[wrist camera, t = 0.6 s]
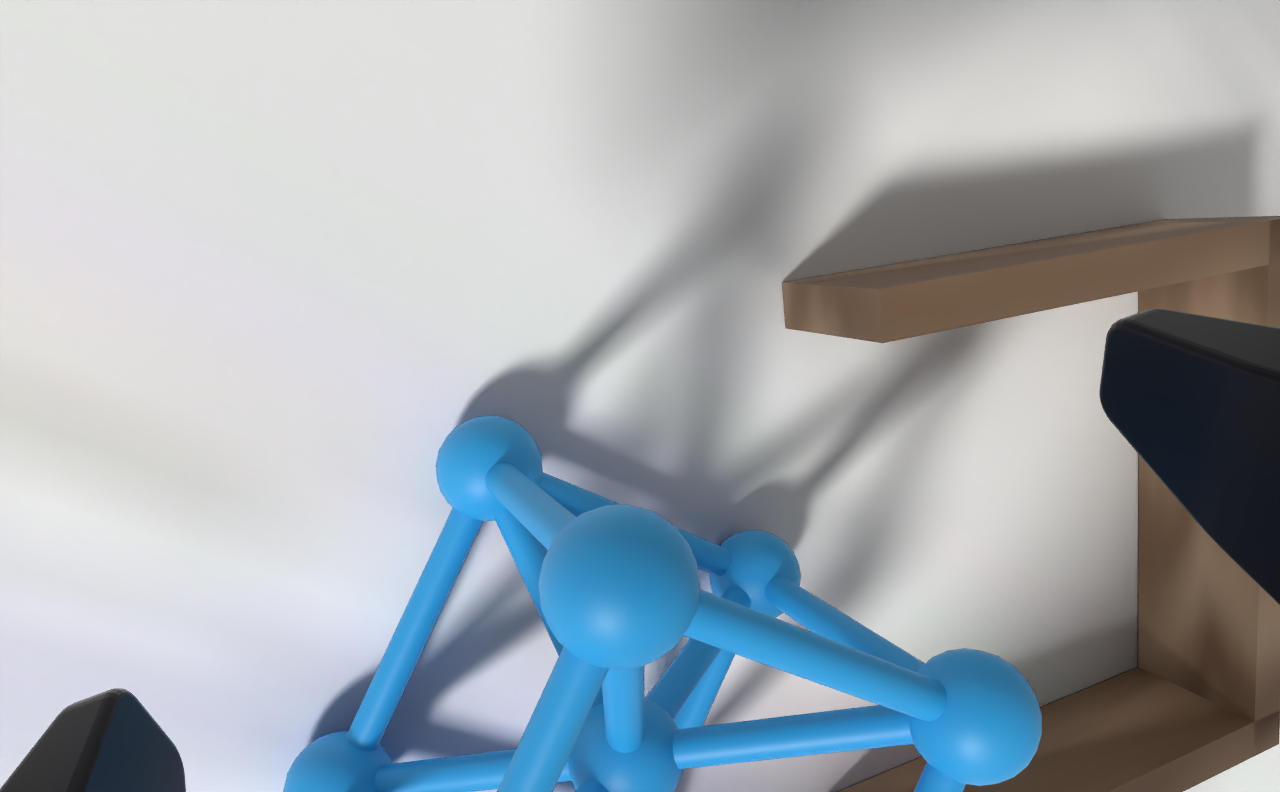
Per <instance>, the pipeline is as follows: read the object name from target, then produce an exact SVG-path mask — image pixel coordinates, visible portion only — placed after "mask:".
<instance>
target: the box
mask: <svg viewBox="0 0 1280 792" xmlns="http://www.w3.org/2000/svg"><path fill="white" fill-rule="evenodd" d="M782 289H783V301H784V313H785V326H786V328H788V329H794V330H801V331H807V332H814V333H820V334H827V335H834V336H840V337H847V338H853V339H860V340H866V341H873V342H879V343H885V342H890V341H895V340H900V339H905V338H910V337H915V336H920V335H925V334H930V333H935V332H940V331H945V330H949V329H954V328H959V327H964V326H969V325H974V324H979V323H984V322H989V321H994V320H999V319H1004V318H1009V317H1014V316H1018V315H1023V314H1028V313H1033V312H1038V311H1043V310H1048V309H1053V308H1058V307H1063V306H1068V305H1073V304H1078V303H1083V302H1087V301H1092V300H1097V299H1102V298H1107V297H1112V296H1117V295H1122V294H1127V293H1132V292H1137V291H1139V313H1140V312H1142V311H1145V310H1149V309H1157V308H1158V309H1166V310H1172V311H1178V312H1184V313H1190V314H1196V315H1202V316H1208V317H1215V318H1221V319H1227V320H1233V321H1239V322H1245V323H1251V324H1257V325H1263V326H1269V327H1275V328H1280V216H1262V217H1228V218H1193V219H1165V220H1158V221H1152V222H1146V223H1140V224H1134V225H1128V226H1122V227H1116V228H1110V229H1104V230H1098V231H1092V232H1086V233H1080V234H1073V235H1067V236H1061V237H1055V238H1049V239H1043V240H1037V241H1031V242H1025V243H1019V244H1013V245H1007V246H1001V247H995V248H989V249H982V250H976V251H970V252H964V253H958V254H952V255H946V256H940V257H934V258H928V259H922V260H916V261H910V262H904V263H898V264H891V265H885V266H879V267H873V268H867V269H861V270H855V271H849V272H843V273H837V274H831V275H825V276H819V277H813V278H807V279H800V280H794V281H788V282H782ZM1040 711H1041V714H1042V735H1041V738H1040V742H1039V745H1038V749H1037V752H1036V753H1035V755H1034V756H1033V758H1032V760H1031V761H1030V763H1029V765H1028V766H1027V767H1026V768H1025V769H1023V770H1022V771H1021V772H1020V773H1018V774H1017V775H1016V776H1015V777H1013V778H1011V779H1008V780H1006V781H1003V782H1000V783H998V784H991V785H983V786H976V785H970V784H966V785H965V788H964V790H963V792H1183V791H1185V790H1187V789H1189V788H1191V787H1193V786H1195V785H1197V784H1199V783H1201V782H1203V781H1205V780H1207V779H1209V778H1211V777H1213V776H1215V775H1217V774H1219V773H1221V772H1223V771H1225V770H1227V769H1229V768H1231V767H1233V766H1235V765H1237V764H1239V763H1241V762H1243V761H1245V760H1247V759H1249V758H1251V757H1253V756H1256V755H1258V754H1260V753H1262V752H1264V751H1266V750H1268V749H1270V748H1272V747H1274V746H1276V745H1278V744H1279V729H1280V605H1279V604H1278V603H1277V602H1276V601H1275V600H1274V599H1273V598H1272V597H1271V596H1270V595H1269V594H1268V593H1267V592H1266V591H1265V590H1264V589H1263V588H1262V587H1261V586H1260V585H1258V584H1257V583H1256V582H1255V581H1254V580H1253V579H1252V578H1251V577H1250V576H1249V575H1248V574H1247V573H1246V572H1245V571H1244V570H1243V569H1242V568H1241V567H1240V566H1239V565H1238V564H1237V563H1236V562H1235V561H1234V560H1233V559H1232V558H1231V557H1230V556H1229V555H1228V554H1227V553H1226V552H1225V551H1224V550H1223V549H1222V548H1221V547H1220V546H1219V545H1218V544H1217V543H1216V542H1215V541H1214V540H1213V539H1212V538H1211V537H1210V536H1209V535H1208V534H1207V533H1206V532H1205V531H1204V529H1203V528H1202V527H1201V526H1200V525H1199V524H1198V523H1197V522H1196V521H1195V519H1194V518H1193V517H1192V516H1191V515H1190V514H1189V512H1188V511H1187V510H1186V509H1185V508H1184V507H1183V505H1182V504H1181V503H1180V502H1179V501H1178V500H1177V498H1176V497H1175V496H1174V495H1173V494H1172V492H1171V491H1170V490H1169V489H1168V488H1167V487H1166V485H1165V484H1164V483H1163V482H1162V481H1161V480H1160V478H1159V477H1158V476H1157V475H1156V474H1155V473H1154V471H1153V470H1152V469H1151V468H1150V467H1149V465H1148V464H1147V463H1146V462H1145V461H1144V460H1143V458H1142V457H1141V456H1140V455H1139V530H1138V667H1137V668H1135V669H1132V670H1130V671H1127V672H1125V673H1123V674H1120V675H1118V676H1115V677H1113V678H1111V679H1108V680H1106V681H1103V682H1101V683H1098V684H1096V685H1094V686H1091V687H1089V688H1086V689H1084V690H1082V691H1079V692H1077V693H1074V694H1072V695H1070V696H1067V697H1065V698H1062V699H1060V700H1058V701H1055V702H1053V703H1050V704H1048V705H1046V706H1043V707H1041V708H1040ZM926 763H927V761H926V760H925V759H924V758H923V757H920V758H918V759H915V760H913V761H911V762H908V763H906V764H903V765H901V766H899V767H896V768H894V769H891V770H889V771H887V772H884V773H882V774H879V775H877V776H874V777H872V778H870V779H867V780H865V781H862V782H860V783H858V784H855V785H853V786H850V787H848V788H846V789H843V790H841V791H838V792H914V790H915V788H916V785H917V783H918V781H919V779H920V776H921V774H922V772H923V770H924V767H925V765H926Z"/></svg>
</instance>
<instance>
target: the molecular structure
mask: <svg viewBox="0 0 1280 792" xmlns="http://www.w3.org/2000/svg"><path fill="white" fill-rule="evenodd" d="M542 471H543V470H542V459H541V453H540V451H539V449H538V446H537V444H536V442H535V440H534V439H533V437H532V436H531V435H530V433H528V432H527V431H526V430H525V429H524V428H523V427H521V426H520V425H518V424H517V423H515V422H514V421H513V420H510V419H506V418H502V417H499V416H480V417H477V418H473V419H470V420H468V421H466V422H464V423H462V424H461V425H459V426H457V427H456V428H455V429H454V430H453V431H452V432H451V433H450V434H449V435H448V436H447V438H446V439H445V441H444V443H443V444H442V446H441V448H440V450H439V452H438V457H437V462H436V474H437V481H438V484H439V488H440V491H441V493H442V494H443V496H444V497H445V499H446V501H447V502H448V503H449V504H450V505H451V506H452V507H453V509H452V511H451V513H450V515H449V517H448V519H447V521H446V523H445V526H444V528H443V530H442V532H441V534H440V536H439V538H438V541H437V543H436V545H435V547H434V549H433V551H432V553H431V556H430V558H429V560H428V562H427V564H426V566H425V568H424V571H423V573H422V575H421V577H420V579H419V581H418V583H417V585H416V588H415V590H414V592H413V594H412V596H411V598H410V600H409V603H408V605H407V607H406V609H405V611H404V613H403V615H402V618H401V620H400V622H399V624H398V626H397V628H396V630H395V632H394V635H393V637H392V639H391V641H390V643H389V645H388V647H387V650H386V652H385V654H384V656H383V658H382V660H381V662H380V665H379V667H378V669H377V671H376V673H375V675H374V677H373V680H372V682H371V684H370V686H369V688H368V690H367V692H366V694H365V697H364V699H363V701H362V703H361V705H360V707H359V709H358V712H357V714H356V716H355V718H354V720H353V722H352V724H351V727H350V729H349V731H342V732H334V733H330V734H328V735H325V736H323V737H320V738H318V739H316V740H315V741H314V742H312V743H311V744H310V745H308V746H307V747H306V748H305V749H304V750H303V751H302V752H301V753H300V754H299V755H298V757H297V758H296V759H295V761H294V762H293V764H292V766H291V768H290V770H289V771H288V773H287V777H286V782H285V786H284V790H283V792H474V791H483V790H492V789H498V790H497V792H553V790H554V788H555V786H556V783H557V782H566V781H572V783H573V785H574V787H575V789H576V791H575V792H674V791H675V789H676V787H677V785H678V782H679V780H680V777H681V775H682V771H683V769H686V768H695V767H704V766H713V765H723V764H732V763H741V762H750V761H760V760H769V759H778V758H787V757H797V756H806V755H815V754H824V753H834V752H843V751H852V750H861V749H871V748H880V747H889V746H898V745H908V744H914V746H915V748H916V749H917V751H918V752H919V753H920V754H921V755H922V757H923V758H924V759H925V760H926V761H927V763H926V765H925V767H924V770H923V772H922V774H921V776H920V779H919V781H918V783H917V785H916V788H915V790H914V792H963V790H964V788H965V785H966V784H970V785H976V786H983V785H991V784H998V783H1000V782H1003V781H1006V780H1008V779H1011V778H1013V777H1015V776H1016V775H1017V774H1018V773H1020V772H1021V771H1022V770H1023V769H1025V768H1026V767H1027V766H1028V765H1029V763H1030V761H1031V760H1032V758H1033V756H1034V755H1035V753H1036V752H1037V749H1038V745H1039V742H1040V738H1041V735H1042V714H1041V711H1040V707H1039V703H1038V700H1037V697H1036V695H1035V694H1034V692H1033V690H1032V688H1031V687H1030V685H1029V683H1028V681H1027V680H1026V679H1025V678H1024V677H1023V676H1022V675H1021V673H1020V672H1019V671H1018V670H1017V669H1016V668H1015V667H1014V666H1012V665H1011V664H1009V663H1008V662H1006V661H1005V660H1003V659H1002V658H1000V657H999V656H996V655H993V654H990V653H987V652H984V651H979V650H972V649H965V648H964V649H957V650H950V651H946V652H944V653H941V654H939V655H937V656H935V657H932V658H931V659H930V660H929V661H928V662H927V663H926V664H925V663H924V662H922V661H920V660H919V659H917V658H915V657H914V656H912V655H911V654H909V653H907V652H906V651H904V650H902V649H901V648H899V647H898V646H896V645H894V644H893V643H891V642H889V641H888V640H886V639H884V638H883V637H881V636H880V635H878V634H876V633H875V632H873V631H871V630H870V629H868V628H866V627H865V626H863V625H862V624H860V623H858V622H857V621H855V620H853V619H852V618H850V617H849V616H847V615H845V614H844V613H842V612H840V611H839V610H837V609H835V608H834V607H832V606H831V605H829V604H827V603H826V602H824V601H822V600H821V599H819V598H817V597H816V596H814V595H813V594H811V593H809V592H808V591H806V590H804V589H803V588H801V587H800V579H801V573H800V568H799V564H798V561H797V558H796V556H795V554H794V552H793V551H792V550H791V548H790V547H789V546H788V545H787V544H786V542H785V541H783V540H782V539H780V538H779V537H777V536H776V535H774V534H771V533H767V532H764V531H760V530H751V531H743V532H740V533H737V534H735V535H732V536H731V537H729V538H728V539H727V540H725V541H724V542H723V543H722V544H721V546H719V545H717V544H714V543H712V542H709V541H707V540H705V539H702V538H700V537H697V536H695V535H693V534H690V533H688V532H685V531H683V530H680V529H678V528H676V527H674V526H673V525H672V524H671V523H669V522H668V521H666V520H665V519H663V518H662V517H660V516H659V515H657V514H656V513H654V512H652V511H649V510H645V509H642V508H638V507H635V506H631V505H620V504H618V503H615V502H613V501H611V500H608V499H606V498H603V497H601V496H599V495H596V494H594V493H591V492H589V491H587V490H584V489H582V488H579V487H577V486H574V485H572V484H570V483H567V482H565V481H562V480H560V479H558V478H555V477H553V476H550V475H548V474H546V473H543V472H542ZM483 521H496V522H497V525H498V527H499V529H500V531H501V533H502V535H503V537H504V540H505V542H506V544H507V546H508V548H509V550H510V552H511V555H512V557H513V559H514V561H515V563H516V565H517V567H518V569H519V572H520V574H521V576H522V578H523V580H524V582H525V584H526V587H527V589H528V591H529V593H530V595H531V597H532V599H533V602H534V604H535V606H536V608H537V610H538V612H539V614H540V617H541V619H542V621H543V623H544V625H545V627H546V629H547V632H548V634H549V636H550V638H551V640H552V642H553V644H554V647H555V649H556V651H557V653H558V655H559V658H558V660H557V662H556V664H555V667H554V669H553V671H552V673H551V675H550V677H549V680H548V682H547V684H546V686H545V688H544V690H543V693H542V695H541V697H540V699H539V701H538V703H537V706H536V708H535V710H534V712H533V714H532V716H531V719H530V721H529V723H528V725H527V727H526V729H525V732H524V734H523V736H522V738H521V740H520V743H519V745H518V747H517V749H510V750H502V751H494V752H486V753H477V754H469V755H461V756H452V757H444V758H436V759H427V760H419V761H411V762H402V763H394V764H392V761H391V759H390V757H389V756H388V754H387V753H386V751H385V749H384V748H383V746H381V745H380V744H379V743H380V741H381V739H382V737H383V735H384V733H385V731H386V728H387V726H388V724H389V722H390V720H391V718H392V716H393V713H394V711H395V709H396V707H397V705H398V703H399V701H400V698H401V696H402V694H403V692H404V690H405V688H406V686H407V683H408V681H409V679H410V677H411V675H412V673H413V671H414V668H415V666H416V664H417V662H418V660H419V658H420V656H421V653H422V651H423V649H424V647H425V645H426V643H427V641H428V638H429V636H430V634H431V632H432V630H433V628H434V626H435V623H436V621H437V619H438V617H439V615H440V613H441V610H442V608H443V606H444V604H445V602H446V600H447V598H448V595H449V593H450V591H451V589H452V587H453V585H454V583H455V580H456V578H457V576H458V574H459V572H460V570H461V568H462V565H463V563H464V561H465V559H466V557H467V555H468V553H469V550H470V548H471V546H472V544H473V542H474V540H475V538H476V535H477V533H478V531H479V529H480V527H481V525H482V523H483ZM698 569H700V570H703V571H705V572H708V573H710V574H709V578H710V584H711V589H712V591H713V594H712V593H709V592H706V591H704V590H701V589H700V581H699V574H698ZM782 613H785V614H787V615H788V616H789V617H791V618H792V619H794V620H795V621H797V622H798V623H800V624H801V625H803V626H804V627H806V628H807V629H809V630H810V631H812V632H810V631H808V630H805V629H802V628H800V627H797V626H795V625H792V624H789V623H787V622H784V621H782V620H779V619H776V617H778V616H779V615H781V614H782ZM683 635H684V636H686V637H689V638H690V639H689V640H688V642H687V643H686V644H685V646H684V647H683V648H682V650H681V651H680V652H679V654H678V655H677V656H676V658H675V659H674V660H673V662H672V663H671V664H670V666H669V667H668V668H667V670H666V671H665V672H664V674H663V675H662V676H661V678H660V679H659V680H658V682H657V683H656V684H655V686H654V687H653V688H652V690H651V691H650V692H649V694H648V695H647V696H646V698H645V697H644V665H646V664H648V663H650V662H652V661H654V660H657V659H659V658H660V657H661V656H663V655H664V654H666V653H667V652H669V651H670V650H672V649H673V648H674V647H675V646H676V645H677V643H678V642H679V641H680V639H681V638H682V636H683ZM735 654H737V655H740V656H743V657H746V658H749V659H751V660H754V661H757V662H760V663H763V664H765V665H768V666H771V667H774V668H777V669H780V670H782V671H785V672H788V673H791V674H794V675H796V676H799V677H802V678H805V679H808V680H811V681H813V682H816V683H819V684H822V685H825V686H828V687H830V688H833V689H836V690H839V691H842V692H844V693H847V694H850V695H853V696H856V697H859V698H861V699H864V700H867V701H870V702H873V703H876V704H878V705H876V706H868V707H859V708H851V709H843V710H834V711H826V712H818V713H809V714H801V715H793V716H785V717H776V718H768V719H760V720H751V721H743V722H735V723H726V724H718V725H710V726H703V724H704V722H705V719H706V717H707V715H708V713H709V711H710V708H711V706H712V704H713V702H714V700H715V697H716V695H717V693H718V691H719V688H720V686H721V684H722V682H723V680H724V677H725V675H726V673H727V671H728V669H729V666H730V664H731V662H732V660H733V658H734V655H735ZM673 719H674V720H673Z"/></svg>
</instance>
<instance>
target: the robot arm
mask: <svg viewBox="0 0 1280 792" xmlns="http://www.w3.org/2000/svg"><path fill="white" fill-rule="evenodd" d="M1100 401H1101V404H1102V407H1103V410H1104V411H1105V413H1106V415H1107V417H1108V418H1109V419H1110V421H1111V422H1112V423H1113V424H1114V426H1115V427H1116V428H1117V429H1118V430H1119V431H1120V433H1121V434H1122V435H1123V436H1124V437H1125V438H1126V440H1127V441H1128V442H1129V443H1130V444H1131V445H1132V447H1133V448H1134V449H1135V450H1136V451H1137V453H1138V454H1139V455H1140V456H1141V457H1142V458H1143V460H1144V461H1145V462H1146V463H1147V464H1148V465H1149V467H1150V468H1151V469H1152V470H1153V471H1154V473H1155V474H1156V475H1157V476H1158V477H1159V478H1160V480H1161V481H1162V482H1163V483H1164V484H1165V485H1166V487H1167V488H1168V489H1169V490H1170V491H1171V492H1172V494H1173V495H1174V496H1175V497H1176V498H1177V500H1178V501H1179V502H1180V503H1181V504H1182V505H1183V507H1184V508H1185V509H1186V510H1187V511H1188V512H1189V514H1190V515H1191V516H1192V517H1193V518H1194V519H1195V521H1196V522H1197V523H1198V524H1199V525H1200V526H1201V527H1202V528H1203V529H1204V531H1205V532H1206V533H1207V534H1208V535H1209V536H1210V537H1211V538H1212V539H1213V540H1214V541H1215V542H1216V543H1217V544H1218V545H1219V546H1220V547H1221V548H1222V549H1223V550H1224V551H1225V552H1226V553H1227V554H1228V555H1229V556H1230V557H1231V558H1232V559H1233V560H1234V561H1235V562H1236V563H1237V564H1238V565H1239V566H1240V567H1241V568H1242V569H1243V570H1244V571H1245V572H1246V573H1247V574H1248V575H1249V576H1250V577H1251V578H1252V579H1253V580H1254V581H1255V582H1256V583H1257V584H1258V585H1260V586H1261V587H1262V588H1263V589H1264V590H1265V591H1266V592H1267V593H1268V594H1269V595H1270V596H1271V597H1272V598H1273V599H1274V600H1275V601H1276V602H1277V603H1278V604H1279V605H1280V328H1275V327H1269V326H1263V325H1257V324H1251V323H1245V322H1239V321H1233V320H1227V319H1221V318H1215V317H1208V316H1202V315H1196V314H1190V313H1184V312H1178V311H1172V310H1166V309H1158V308H1157V309H1149V310H1145V311H1142V312H1140V313H1137V314H1134V315H1132V316H1129V317H1126V318H1123V319H1121V320H1119V321H1117V322H1115V323H1114V324H1113V325H1112V326H1111V328H1110V329H1109V331H1108V333H1107V337H1106V344H1105V352H1104V360H1103V367H1102V375H1101V383H1100ZM0 792H186V787H185V774H184V768H183V763H182V760H181V757H180V754H179V752H178V750H177V748H176V747H175V745H174V744H173V742H172V741H171V740H170V739H169V737H168V736H167V735H166V734H165V732H164V731H163V730H162V729H161V728H160V726H159V725H158V724H157V723H156V721H155V720H154V719H153V718H152V716H151V715H150V714H149V713H148V712H147V710H146V709H145V708H144V707H143V705H142V704H141V703H140V702H139V701H138V699H137V698H136V697H135V696H134V695H133V694H132V693H131V692H129V691H127V690H125V689H111V690H108V691H106V692H103V693H100V694H97V695H95V696H92V697H89V698H87V699H84V700H81V701H78V702H76V703H73V704H72V705H70V706H68V707H66V708H65V709H64V710H63V711H62V712H61V713H60V714H59V715H58V716H57V717H56V719H55V720H54V721H53V722H52V724H51V725H50V726H49V728H48V729H47V730H46V731H45V733H44V734H43V735H42V736H41V738H40V739H39V740H38V742H37V743H36V744H35V745H34V747H33V748H32V749H31V750H30V752H29V753H28V754H27V756H26V757H25V758H24V759H23V761H22V762H21V763H20V764H19V766H18V767H17V768H16V770H15V771H14V772H13V773H12V775H11V776H10V777H9V779H8V780H7V781H6V782H5V784H4V785H3V786H2V787H1V789H0Z"/></svg>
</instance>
